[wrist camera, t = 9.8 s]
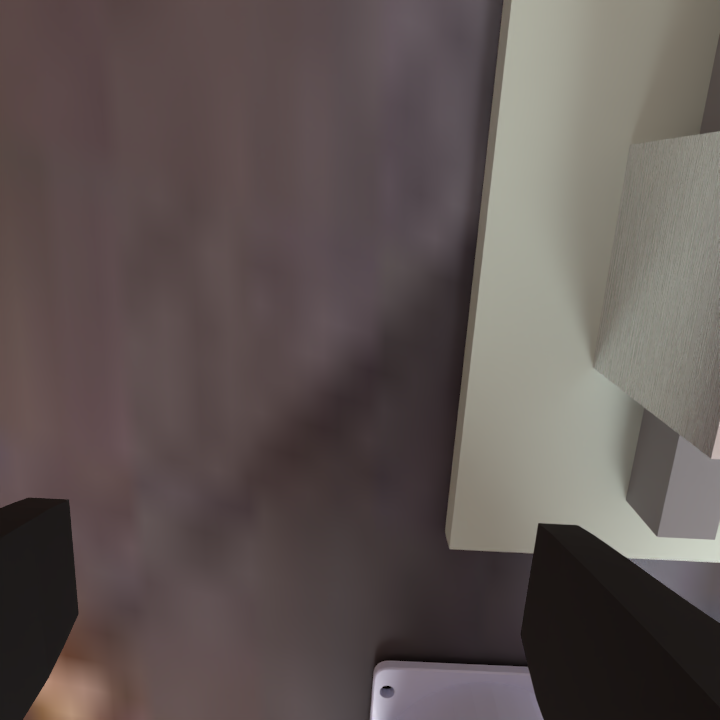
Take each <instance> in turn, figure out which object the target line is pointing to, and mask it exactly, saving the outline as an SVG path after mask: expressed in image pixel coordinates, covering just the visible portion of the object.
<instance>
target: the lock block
mask: <svg viewBox="0 0 720 720" xmlns="http://www.w3.org/2000/svg"><path fill="white" fill-rule="evenodd" d="M593 368H594V369H595V370H596V371H598V372H599V373H600V374H602V375H603V376H604V377H605V378H607V379H608V380H609V381H611V382H612V383H613V384H615V385H616V386H617V387H618V388H620V389H621V390H622V391H624V392H625V393H626V394H628V395H629V396H630V397H631V398H633V399H634V400H635V401H637V402H638V403H639V404H640V405H642V406H643V407H644V408H646V409H647V410H648V411H650V412H651V413H652V414H653V415H655V416H656V417H657V418H659V419H660V420H661V421H663V422H664V423H665V424H666V425H668V426H669V427H670V428H672V429H673V430H674V431H675V432H677V433H678V434H679V435H681V436H682V437H683V438H685V439H686V440H687V441H688V442H690V443H691V444H692V445H694V446H695V447H696V448H698V449H699V450H700V451H701V452H703V453H704V454H705V455H707V456H708V457H709V458H710V459H720V131H717V132H711V133H704V134H698V135H691V136H685V137H678V138H671V139H665V140H658V141H652V142H645V143H639V144H632V145H630V146H629V152H628V158H627V164H626V170H625V176H624V182H623V188H622V194H621V200H620V206H619V212H618V218H617V224H616V230H615V236H614V242H613V248H612V254H611V260H610V266H609V272H608V278H607V284H606V290H605V296H604V302H603V308H602V314H601V320H600V326H599V332H598V337H597V343H596V349H595V355H594V361H593Z"/></svg>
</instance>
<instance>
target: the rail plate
mask: <svg viewBox="0 0 720 720" xmlns="http://www.w3.org/2000/svg"><path fill="white" fill-rule="evenodd" d="M717 131H720V0H504V1H503V10H502V19H501V28H500V37H499V46H498V55H497V64H496V73H495V82H494V91H493V100H492V109H491V119H490V128H489V137H488V146H487V155H486V164H485V173H484V182H483V191H482V200H481V209H480V218H479V227H478V236H477V245H476V254H475V263H474V272H473V282H472V291H471V300H470V309H469V318H468V327H467V336H466V345H465V354H464V363H463V372H462V381H461V390H460V399H459V408H458V417H457V426H456V435H455V445H454V454H453V463H452V472H451V481H450V490H449V499H448V508H447V517H446V526H445V534H446V538H447V542H448V546H449V549H455V550H475V551H495V552H516V553H534V547H535V541H536V534H537V528H538V523H545V524H565V525H578V526H580V527H582V528H583V529H585V530H587V531H588V532H590V533H591V534H593V535H594V536H596V537H597V538H599V539H600V540H602V541H603V542H605V543H606V544H608V545H609V546H610V547H612V548H613V549H615V550H616V551H618V552H619V553H620V554H622V555H623V556H625V557H626V558H638V559H659V560H679V561H699V562H720V459H710V458H709V457H708V456H707V455H705V454H704V453H703V452H701V451H700V450H699V449H698V448H696V447H695V446H694V445H692V444H691V443H690V442H688V441H687V440H686V439H685V438H683V437H682V436H681V435H679V434H678V433H677V432H675V431H674V430H673V429H672V428H670V427H669V426H668V425H666V424H665V423H664V422H663V421H661V420H660V419H659V418H657V417H656V416H655V415H653V414H652V413H651V412H650V411H648V410H647V409H646V408H644V407H643V406H642V405H640V404H639V403H638V402H637V401H635V400H634V399H633V398H631V397H630V396H629V395H628V394H626V393H625V392H624V391H622V390H621V389H620V388H618V387H617V386H616V385H615V384H613V383H612V382H611V381H609V380H608V379H607V378H605V377H604V376H603V375H602V374H600V373H599V372H598V371H596V370H595V369H594V368H593V361H594V355H595V349H596V343H597V337H598V332H599V326H600V320H601V314H602V308H603V302H604V296H605V290H606V284H607V278H608V272H609V266H610V260H611V254H612V248H613V242H614V236H615V230H616V224H617V218H618V212H619V206H620V200H621V194H622V188H623V182H624V176H625V170H626V164H627V158H628V152H629V146H630V145H632V144H639V143H645V142H652V141H658V140H665V139H671V138H678V137H685V136H691V135H698V134H704V133H711V132H717Z"/></svg>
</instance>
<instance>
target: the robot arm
mask: <svg viewBox="0 0 720 720" xmlns="http://www.w3.org/2000/svg"><path fill="white" fill-rule="evenodd" d="M77 616H78V602H77V590H76V578H75V566H74V554H73V542H72V530H71V518H70V506H69V500H65V499H45V498H26V499H24V500H21V501H18V502H15V503H12V504H10V505H7V506H5V507H2V508H0V720H23V718H24V717H25V715H26V713H27V712H28V710H29V709H30V707H31V705H32V704H33V702H34V701H35V699H36V697H37V696H38V694H39V692H40V691H41V689H42V688H43V686H44V684H45V683H46V681H47V679H48V678H49V676H50V674H51V672H52V669H53V667H54V665H55V663H56V661H57V659H58V657H59V655H60V653H61V651H62V649H63V647H64V645H65V642H66V640H67V638H68V636H69V634H70V631H71V629H72V627H73V625H74V622H75V620H76V618H77ZM521 638H522V642H523V646H524V651H525V655H526V660H527V664H528V667H521V666H499V665H477V664H455V663H433V662H410V661H382V662H380V663H378V664H377V665H376V667H375V668H374V671H373V683H372V696H371V709H370V720H720V623H718V622H717V621H715V620H714V619H713V618H711V617H710V616H708V615H707V614H705V613H704V612H702V611H701V610H699V609H698V608H696V607H695V606H693V605H692V604H691V603H689V602H688V601H686V600H685V599H683V598H682V597H680V596H679V595H678V594H676V593H675V592H673V591H672V590H671V589H669V588H668V587H666V586H665V585H663V584H662V583H661V582H659V581H658V580H656V579H655V578H654V577H652V576H651V575H650V574H648V573H647V572H645V571H644V570H643V569H641V568H640V567H638V566H637V565H636V564H634V563H633V562H631V561H630V560H629V559H627V558H626V557H625V556H623V555H622V554H620V553H619V552H618V551H616V550H615V549H613V548H612V547H610V546H609V545H608V544H606V543H605V542H603V541H602V540H600V539H599V538H597V537H596V536H594V535H593V534H591V533H590V532H588V531H587V530H585V529H583V528H582V527H580V526H578V525H565V524H545V523H538V528H537V534H536V541H535V547H534V553H533V560H532V566H531V572H530V578H529V585H528V591H527V597H526V604H525V610H524V616H523V623H522V629H521ZM383 686H391V688H389V689H384V688H382V687H383Z"/></svg>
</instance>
